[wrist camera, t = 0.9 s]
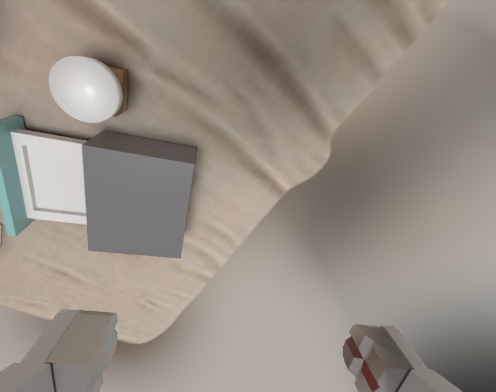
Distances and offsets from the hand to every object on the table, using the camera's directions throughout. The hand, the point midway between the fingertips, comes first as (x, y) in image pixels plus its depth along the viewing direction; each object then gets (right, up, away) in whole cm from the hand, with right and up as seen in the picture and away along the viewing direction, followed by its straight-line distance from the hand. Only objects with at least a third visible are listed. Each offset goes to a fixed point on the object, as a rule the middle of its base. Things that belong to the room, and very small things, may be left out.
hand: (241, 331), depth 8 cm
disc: (-18, +17, +19) cm, 31 cm away
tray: (-26, +8, +29) cm, 40 cm away
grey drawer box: (-16, +6, +31) cm, 36 cm away
